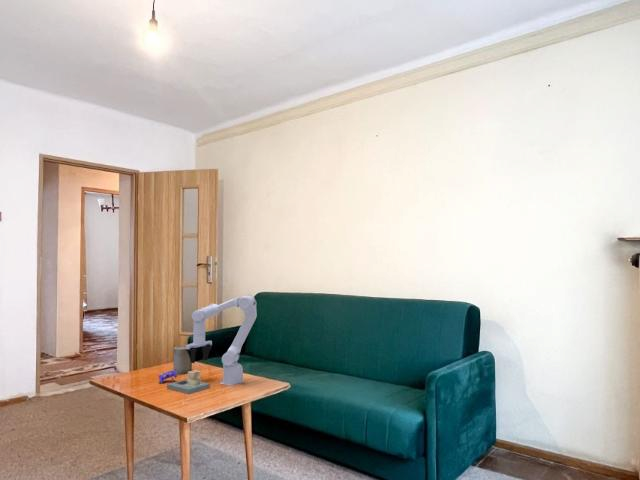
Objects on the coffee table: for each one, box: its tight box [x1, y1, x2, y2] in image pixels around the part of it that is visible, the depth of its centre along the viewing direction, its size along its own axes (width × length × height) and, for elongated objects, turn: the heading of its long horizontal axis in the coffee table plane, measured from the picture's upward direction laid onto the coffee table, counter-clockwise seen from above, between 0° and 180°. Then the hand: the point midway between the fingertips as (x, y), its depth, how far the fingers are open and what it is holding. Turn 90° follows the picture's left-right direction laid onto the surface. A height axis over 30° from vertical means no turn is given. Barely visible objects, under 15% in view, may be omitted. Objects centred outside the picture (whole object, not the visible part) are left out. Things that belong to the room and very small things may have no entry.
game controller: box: [158, 369, 178, 385], centre depth 212 cm, size 10×8×10 cm
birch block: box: [187, 369, 201, 386], centre depth 198 cm, size 4×4×6 cm
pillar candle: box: [173, 345, 193, 376], centre depth 233 cm, size 10×10×15 cm
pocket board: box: [166, 378, 211, 395], centre depth 200 cm, size 12×16×3 cm
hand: (199, 361), depth 211 cm, fingers open, 7 cm apart
